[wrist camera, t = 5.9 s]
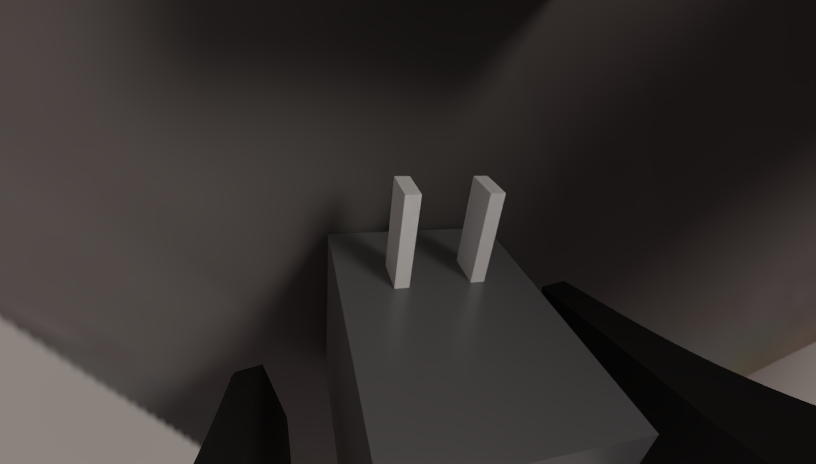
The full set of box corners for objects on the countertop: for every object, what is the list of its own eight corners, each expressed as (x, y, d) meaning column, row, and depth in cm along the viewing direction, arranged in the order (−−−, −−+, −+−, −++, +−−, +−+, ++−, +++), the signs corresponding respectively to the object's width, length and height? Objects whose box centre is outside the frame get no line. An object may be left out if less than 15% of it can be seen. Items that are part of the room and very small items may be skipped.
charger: (504, 152, 10) (729, 327, 5) (457, 353, 13) (564, 577, 8) (329, 149, 8) (395, 374, 4) (326, 370, 12) (359, 642, 7)
